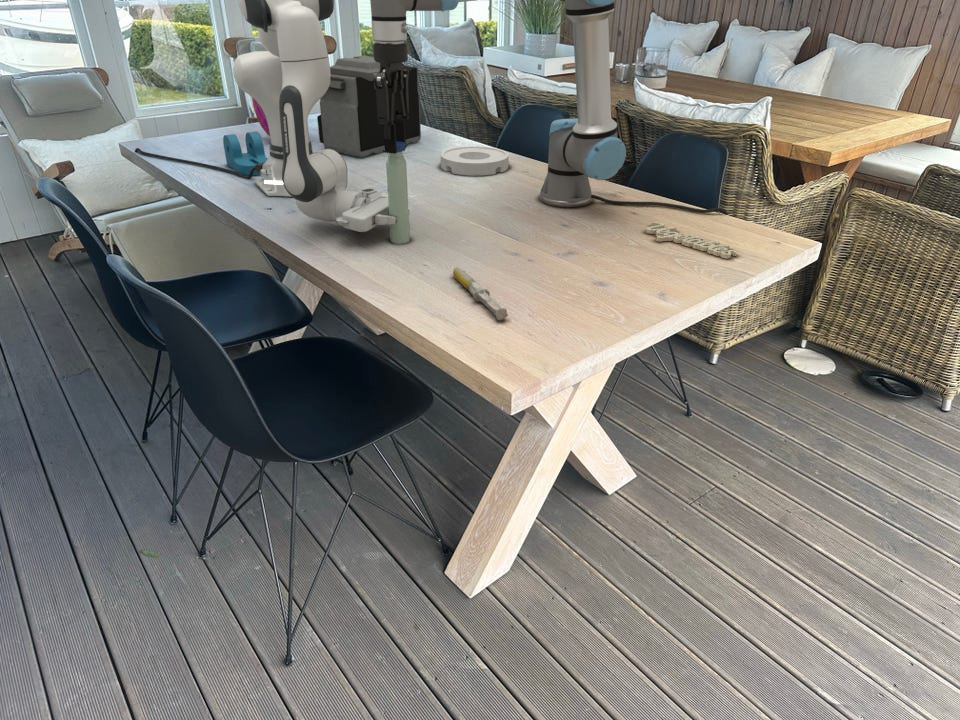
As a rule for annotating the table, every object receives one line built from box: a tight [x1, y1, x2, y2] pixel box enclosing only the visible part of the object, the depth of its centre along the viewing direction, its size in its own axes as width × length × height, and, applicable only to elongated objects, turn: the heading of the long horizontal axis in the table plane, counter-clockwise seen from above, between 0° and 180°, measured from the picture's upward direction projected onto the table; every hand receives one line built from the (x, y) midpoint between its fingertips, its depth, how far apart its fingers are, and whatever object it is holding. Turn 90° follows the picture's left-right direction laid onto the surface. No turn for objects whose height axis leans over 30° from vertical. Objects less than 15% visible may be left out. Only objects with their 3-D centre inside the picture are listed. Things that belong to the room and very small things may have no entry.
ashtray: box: [440, 145, 510, 177], centre depth 233 cm, size 23×23×4 cm
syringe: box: [452, 266, 509, 321], centre depth 145 cm, size 25×4×3 cm, turn 21°
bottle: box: [385, 151, 411, 245], centre depth 167 cm, size 5×5×24 cm
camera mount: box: [222, 131, 269, 176], centre depth 226 cm, size 18×10×10 cm, turn 35°
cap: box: [396, 141, 406, 152], centre depth 162 cm, size 5×5×2 cm
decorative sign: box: [645, 221, 738, 259], centre depth 174 cm, size 26×1×10 cm
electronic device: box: [316, 55, 422, 159], centre depth 250 cm, size 37×22×30 cm, turn 144°
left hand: (402, 216), depth 170 cm, fingers closed on bottle, 5 cm apart
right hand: (395, 150), depth 162 cm, fingers closed on cap, 4 cm apart
